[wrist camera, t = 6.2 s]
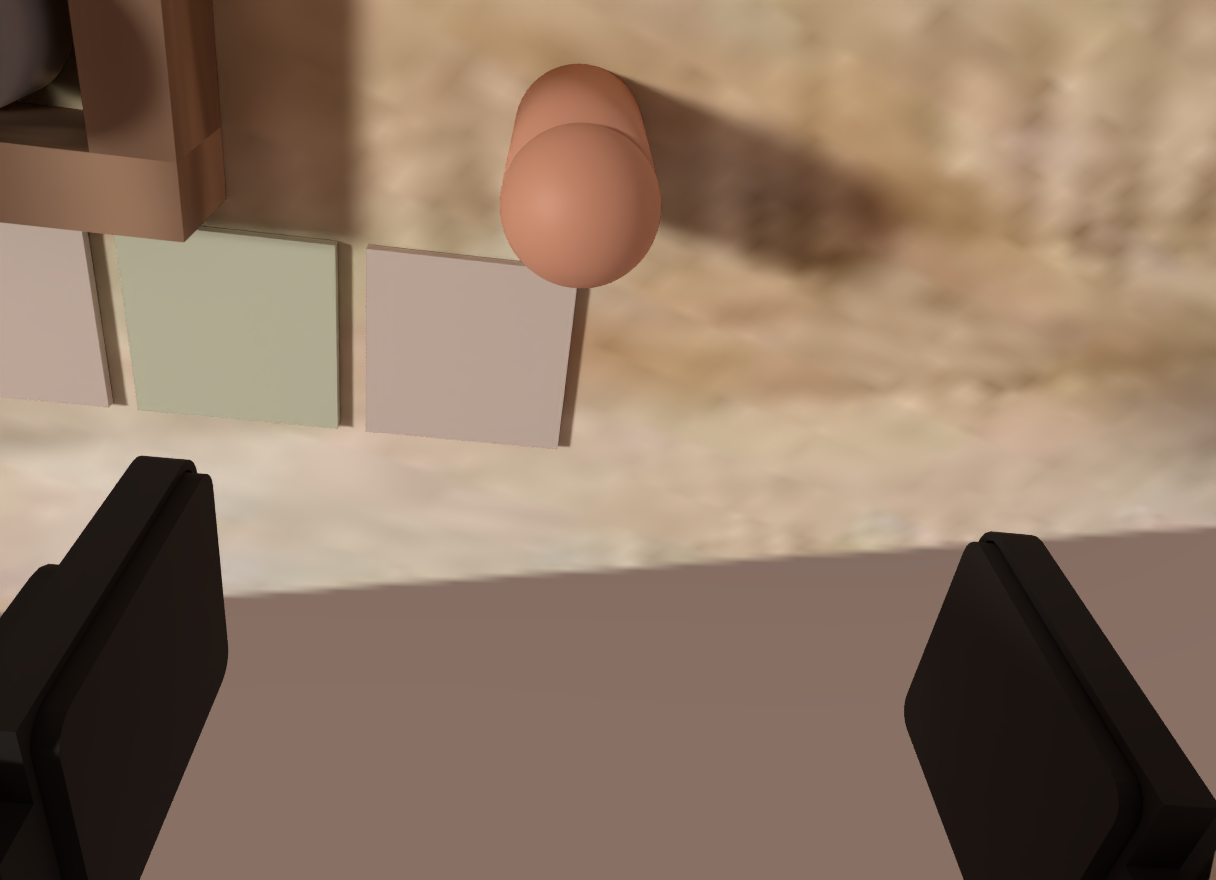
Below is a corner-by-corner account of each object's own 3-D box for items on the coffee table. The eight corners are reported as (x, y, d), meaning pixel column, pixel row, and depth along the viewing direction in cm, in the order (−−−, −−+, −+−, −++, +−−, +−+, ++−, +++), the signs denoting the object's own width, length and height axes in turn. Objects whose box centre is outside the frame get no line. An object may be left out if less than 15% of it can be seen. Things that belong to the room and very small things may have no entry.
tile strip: (578, 268, 33) (578, 272, 33) (557, 443, 37) (557, 449, 36) (-146, 187, 31) (-154, 191, 31) (-93, 382, 35) (-100, 388, 34)
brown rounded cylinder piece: (651, 72, 30) (680, 159, 22) (633, 200, 32) (653, 322, 24) (520, 55, 30) (501, 136, 21) (510, 186, 32) (488, 305, 24)
